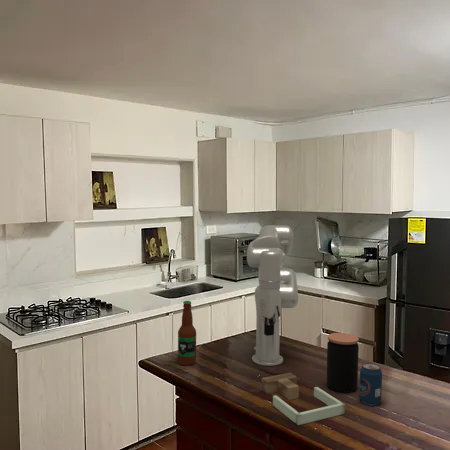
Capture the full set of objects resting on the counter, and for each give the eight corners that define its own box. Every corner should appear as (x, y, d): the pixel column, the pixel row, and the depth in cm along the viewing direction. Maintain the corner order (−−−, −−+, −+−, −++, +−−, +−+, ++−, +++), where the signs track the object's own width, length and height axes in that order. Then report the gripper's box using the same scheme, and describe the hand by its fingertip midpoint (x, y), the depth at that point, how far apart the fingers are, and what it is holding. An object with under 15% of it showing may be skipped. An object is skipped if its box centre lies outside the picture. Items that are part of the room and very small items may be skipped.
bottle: (174, 363, 182) (174, 302, 180) (185, 358, 188) (185, 298, 186) (188, 367, 178) (188, 304, 176) (199, 361, 184) (200, 301, 182)
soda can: (354, 399, 152) (355, 363, 151) (370, 395, 154) (372, 361, 154) (369, 408, 145) (370, 371, 144) (385, 404, 148) (387, 368, 147)
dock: (272, 405, 147) (272, 395, 146) (316, 395, 154) (317, 386, 154) (297, 425, 134) (298, 415, 134) (344, 413, 141) (344, 404, 141)
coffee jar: (351, 380, 167) (353, 332, 165) (361, 393, 156) (363, 342, 155) (323, 380, 166) (324, 332, 165) (330, 393, 156) (332, 342, 154)
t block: (261, 389, 159) (261, 378, 158) (290, 383, 164) (290, 372, 163) (278, 402, 149) (278, 390, 148) (308, 395, 154) (308, 384, 154)
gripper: (250, 282, 169) (250, 330, 170) (271, 289, 155) (270, 342, 157) (268, 280, 172) (267, 328, 173) (290, 287, 159) (289, 339, 160)
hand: (269, 334), depth 165 cm, fingers closed
